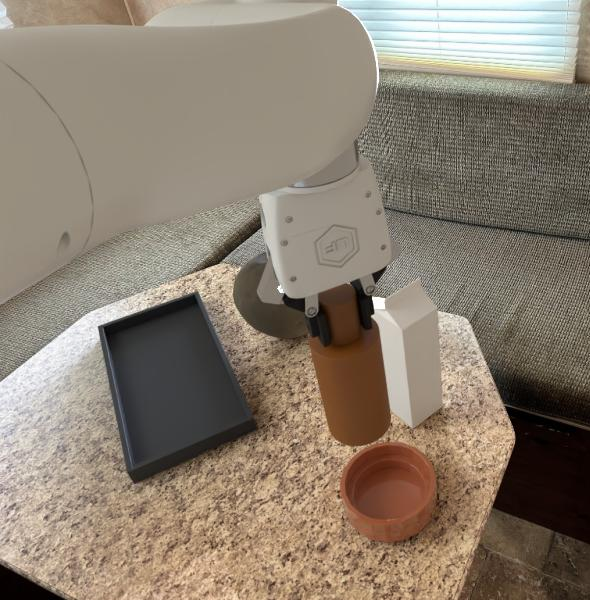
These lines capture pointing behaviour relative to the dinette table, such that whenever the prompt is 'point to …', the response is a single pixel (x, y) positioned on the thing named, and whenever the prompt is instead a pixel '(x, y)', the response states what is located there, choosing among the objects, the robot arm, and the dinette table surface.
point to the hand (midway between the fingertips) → (342, 328)
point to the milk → (411, 353)
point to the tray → (171, 386)
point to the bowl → (389, 491)
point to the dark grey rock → (264, 304)
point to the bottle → (351, 371)
